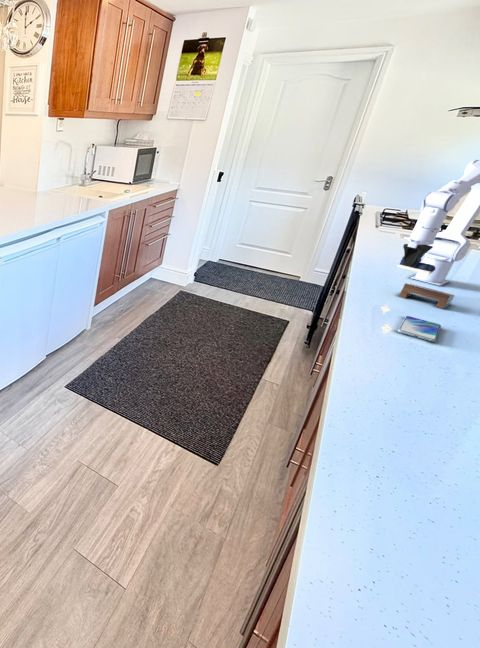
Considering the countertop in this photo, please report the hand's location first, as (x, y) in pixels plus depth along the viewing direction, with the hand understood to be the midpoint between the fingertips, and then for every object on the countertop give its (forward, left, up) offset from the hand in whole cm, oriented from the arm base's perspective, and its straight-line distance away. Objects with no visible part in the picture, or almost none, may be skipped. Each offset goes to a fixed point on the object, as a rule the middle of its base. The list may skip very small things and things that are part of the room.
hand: (409, 264), depth 141 cm
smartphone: (+40, +15, -9) cm, 44 cm away
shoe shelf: (+9, +9, -8) cm, 15 cm away
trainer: (0, +2, -1) cm, 2 cm away
